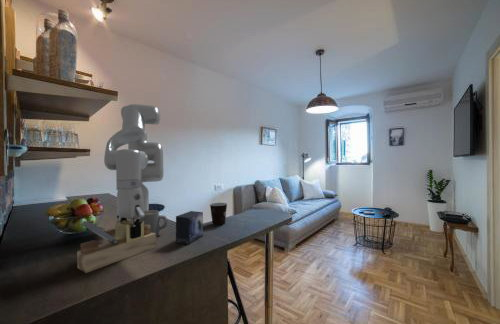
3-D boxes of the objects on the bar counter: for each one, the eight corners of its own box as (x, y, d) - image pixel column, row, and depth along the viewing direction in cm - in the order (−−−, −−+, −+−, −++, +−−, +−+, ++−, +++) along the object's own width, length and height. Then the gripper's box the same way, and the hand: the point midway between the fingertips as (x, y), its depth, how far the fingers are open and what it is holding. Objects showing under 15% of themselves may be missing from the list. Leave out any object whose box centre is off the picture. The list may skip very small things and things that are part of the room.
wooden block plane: (77, 267, 64) (77, 241, 64) (146, 244, 83) (146, 223, 83) (86, 273, 61) (85, 244, 61) (156, 247, 80) (155, 225, 80)
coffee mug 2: (219, 220, 116) (219, 202, 116) (230, 223, 110) (230, 203, 110) (202, 225, 107) (201, 205, 107) (213, 228, 101) (213, 207, 101)
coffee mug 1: (129, 240, 87) (129, 215, 87) (138, 232, 97) (138, 210, 97) (163, 238, 89) (163, 214, 89) (169, 231, 99) (169, 209, 99)
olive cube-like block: (115, 239, 74) (115, 222, 74) (132, 234, 79) (132, 218, 79) (126, 243, 70) (126, 225, 70) (144, 237, 75) (143, 220, 75)
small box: (189, 245, 81) (188, 217, 81) (175, 243, 83) (174, 216, 83) (204, 236, 91) (203, 211, 91) (190, 234, 93) (190, 210, 93)
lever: (109, 242, 71) (80, 224, 64) (112, 238, 72) (84, 220, 65) (116, 245, 68) (87, 226, 62) (119, 241, 69) (91, 222, 63)
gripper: (154, 184, 73) (154, 236, 73) (126, 183, 82) (127, 229, 82) (132, 186, 67) (132, 243, 67) (105, 184, 76) (105, 234, 76)
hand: (129, 235), depth 74 cm, fingers closed on olive cube-like block, 7 cm apart
